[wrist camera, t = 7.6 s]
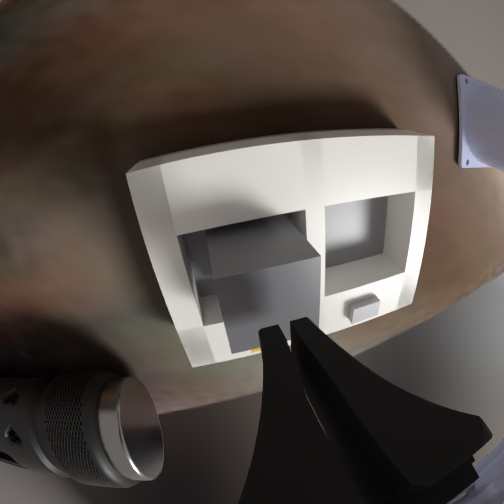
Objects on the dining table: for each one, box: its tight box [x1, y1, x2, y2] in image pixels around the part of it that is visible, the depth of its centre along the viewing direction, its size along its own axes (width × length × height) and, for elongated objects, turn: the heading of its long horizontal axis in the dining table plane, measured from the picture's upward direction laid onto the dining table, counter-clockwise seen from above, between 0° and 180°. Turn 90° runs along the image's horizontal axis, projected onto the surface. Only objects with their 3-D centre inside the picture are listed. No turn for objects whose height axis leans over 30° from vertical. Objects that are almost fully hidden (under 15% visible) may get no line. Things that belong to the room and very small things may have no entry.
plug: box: [205, 214, 321, 354], centre depth 14 cm, size 4×4×6 cm
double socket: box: [126, 128, 434, 367], centre depth 16 cm, size 16×12×4 cm
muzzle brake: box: [0, 370, 164, 488], centre depth 15 cm, size 10×28×10 cm, turn 97°
